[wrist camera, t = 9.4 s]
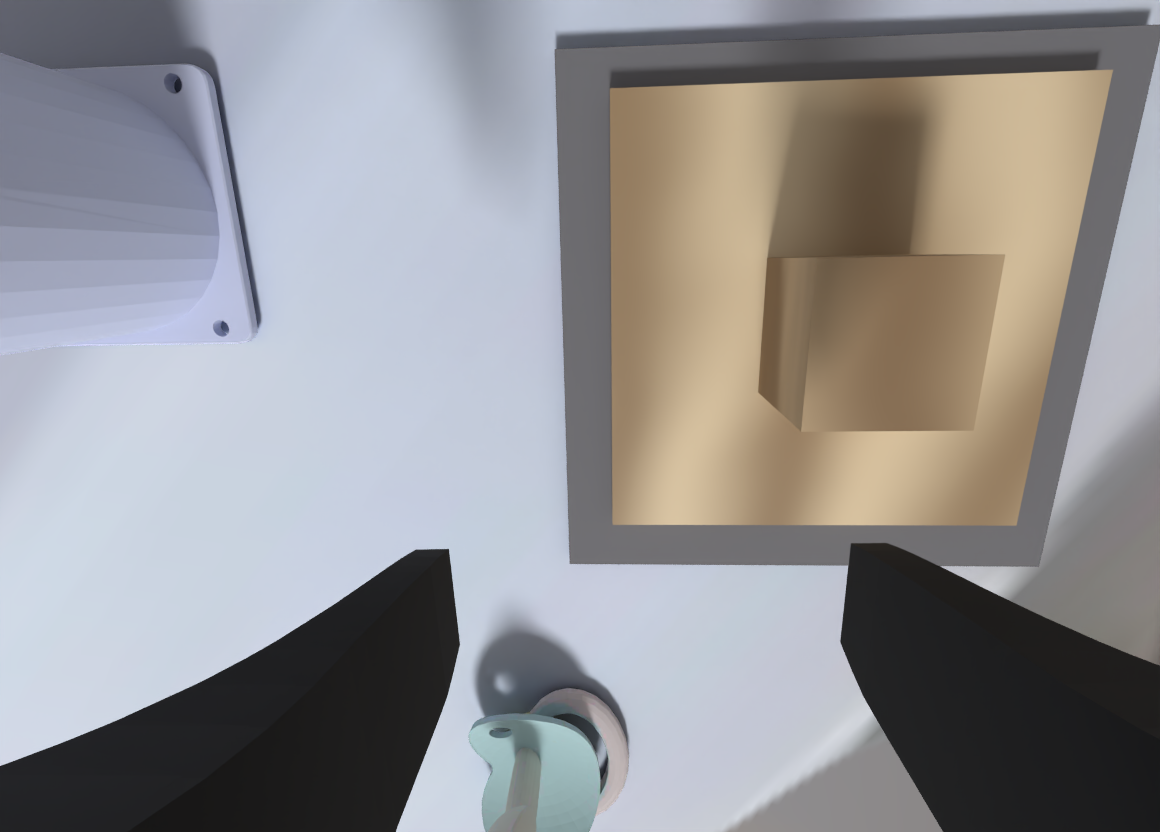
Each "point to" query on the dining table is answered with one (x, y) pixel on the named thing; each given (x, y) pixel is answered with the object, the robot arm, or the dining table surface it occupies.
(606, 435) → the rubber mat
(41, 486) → the dining table surface
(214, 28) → the dining table surface
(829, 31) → the dining table surface
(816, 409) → the oak lid
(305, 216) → the dining table surface
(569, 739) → the pacifier
